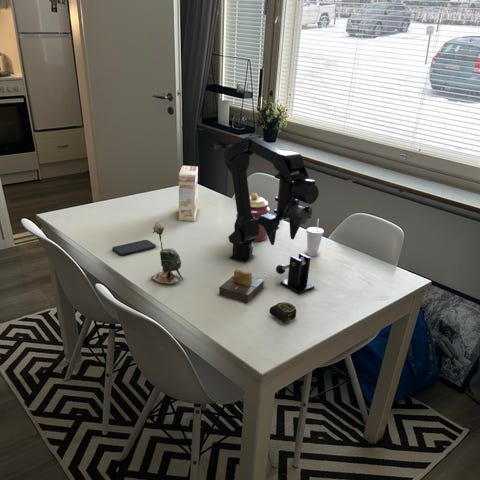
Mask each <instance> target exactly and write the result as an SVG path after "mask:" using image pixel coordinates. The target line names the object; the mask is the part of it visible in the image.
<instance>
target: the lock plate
mask: <svg viewBox="0 0 480 480" xmlns="http://www.w3.org/2000/svg"><path fill="white" fill-rule="evenodd" d="M233 281H234V275H232V276H231V277H230V278H228V279H227V280H226V281H225V282H224V283H222V284H221V285H220V286H219V287H218V288H219V291H218V292H219V293H218V295H219V296H220V297H224V298H227V299H230V300H235V301H238V302H241V303H245V304H248V303H250V302H251V301H252V300H253V299H254V298H255V297H256V296H257V295H259V293H260V292H261V291H263V289H264V288H265V280H264V279H261V278H257V277H254V276H252V278H251V285H250V286H246V285H242V284H238V283H235V282H233Z"/></svg>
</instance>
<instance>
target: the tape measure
mask: <svg viewBox="0 0 480 480" xmlns="http://www.w3.org/2000/svg"><path fill="white" fill-rule="evenodd" d="M269 314H270V315H271V316H272V317H274V318H276V319H277V320H278V321H279V322H281V323H283V324H286V323H287V322H291V321H293V320H294V319H295V318H296V316H297V308H296V306H295V305H294V304H292V303H290V302H284V301H283V302H277V303H276V304H274V305H272V306H270V308H269Z"/></svg>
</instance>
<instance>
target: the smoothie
mask: <svg viewBox="0 0 480 480" xmlns="http://www.w3.org/2000/svg"><path fill="white" fill-rule="evenodd" d="M319 223H320V218H317V221H316V226H310V227H307V228H306V231H305V232H306V255H307V256H309V257H317V255H318V252H319V248H320V246H321V242H322V239H323V235H324V229H323V228H321V227H319Z"/></svg>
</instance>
